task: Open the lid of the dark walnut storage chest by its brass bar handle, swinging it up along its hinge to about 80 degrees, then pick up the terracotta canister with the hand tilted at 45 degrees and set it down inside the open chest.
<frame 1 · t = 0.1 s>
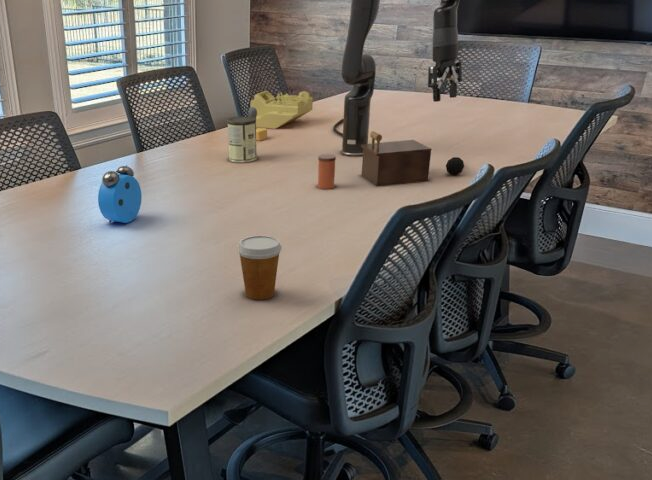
hand: (445, 99, 229), 22 cm above the table, tool pointing down, fingers open, 8 cm apart
lid: (396, 140, 228), point 12 cm above the table, hinge at 0.0°
canister: (325, 186, 229), on the table
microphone: (457, 169, 241), on the table
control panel: (278, 124, 314), on the table
coffee can: (242, 159, 263), on the table
alarm clock: (123, 221, 207), on the table
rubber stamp: (253, 138, 292), on the table
disposable coffee cup: (259, 294, 160), on the table
chest: (394, 178, 235), on the table
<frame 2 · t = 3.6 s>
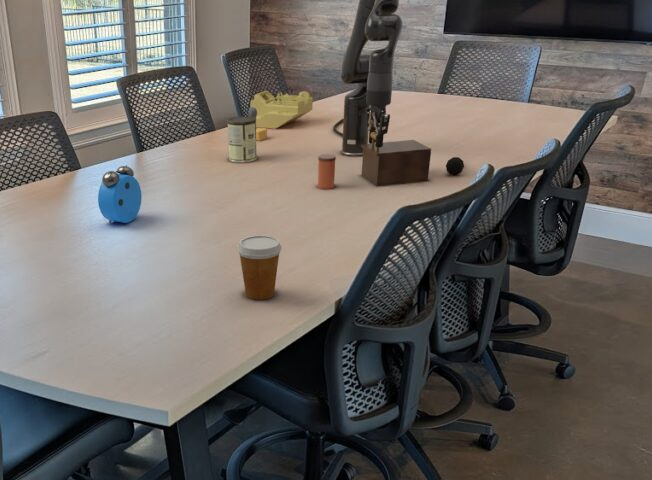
hand: (375, 144, 228), 11 cm above the table, tool pointing down, fingers closed on lid, 5 cm apart
lid: (396, 140, 228), point 12 cm above the table, hinge at -0.1°, touching gripper
everything else where it was.
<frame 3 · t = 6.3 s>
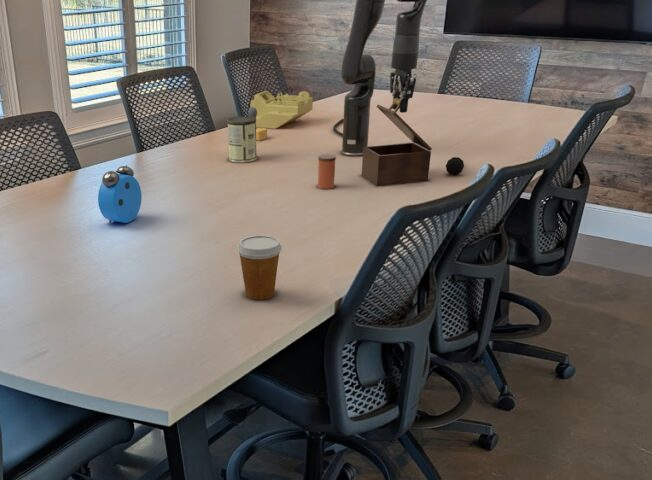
hand: (399, 110, 224), 21 cm above the table, tool pointing down, fingers closed on lid, 5 cm apart
lid: (409, 121, 226), point 18 cm above the table, hinge at 41.7°, touching gripper
everything else where it was.
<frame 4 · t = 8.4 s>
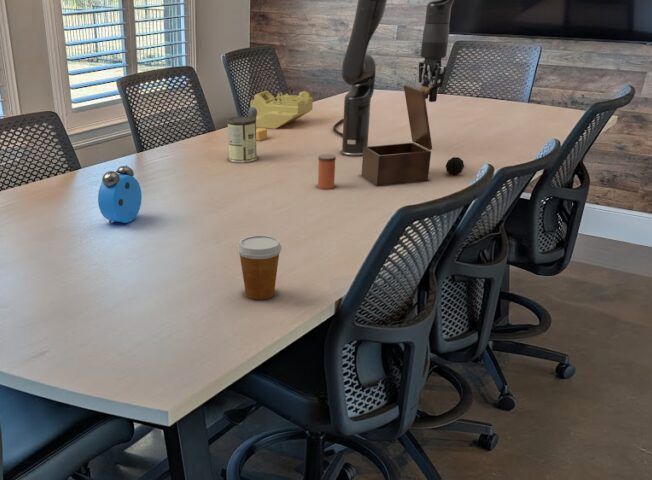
hand: (428, 99, 224), 23 cm above the table, tool pointing down, fingers closed on lid, 5 cm apart
lid: (424, 114, 226), point 19 cm above the table, hinge at 74.7°, touching gripper
everything else where it was.
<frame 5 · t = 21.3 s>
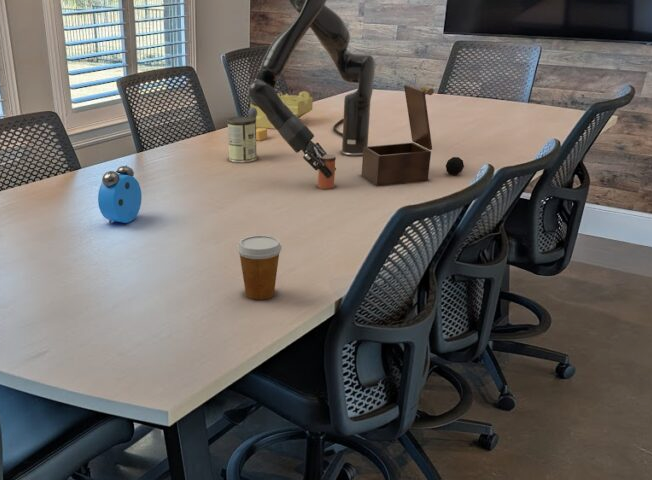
hand: (332, 173, 226), 4 cm above the table, tool tilted 45°, fingers closed on canister, 5 cm apart
lid: (425, 114, 226), point 19 cm above the table, hinge at 75.1°
canister: (325, 186, 229), on the table, touching gripper
everything else where it was.
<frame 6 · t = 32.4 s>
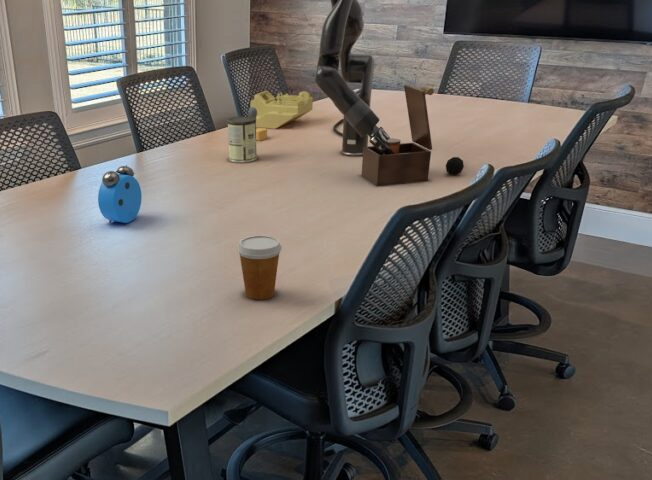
hand: (396, 157, 230), 7 cm above the table, tool tilted 45°, fingers closed on canister, 5 cm apart
canister: (389, 170, 232), point 3 cm above the table, touching gripper
everything else where it was.
when the fingers open (8 cm above the table, at t = 43.6 s): canister drops 3 cm, resting on chest.
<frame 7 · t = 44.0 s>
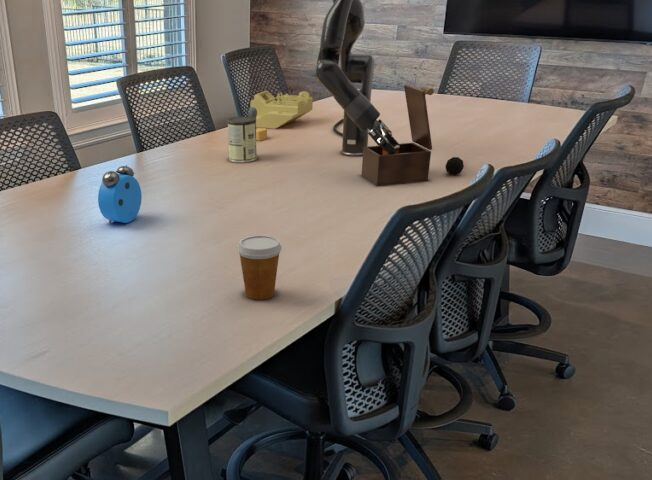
hand: (395, 150, 229), 9 cm above the table, tool tilted 45°, fingers open, 8 cm apart
canister: (388, 176, 234), point 1 cm above the table, touching chest
everything else where it was.
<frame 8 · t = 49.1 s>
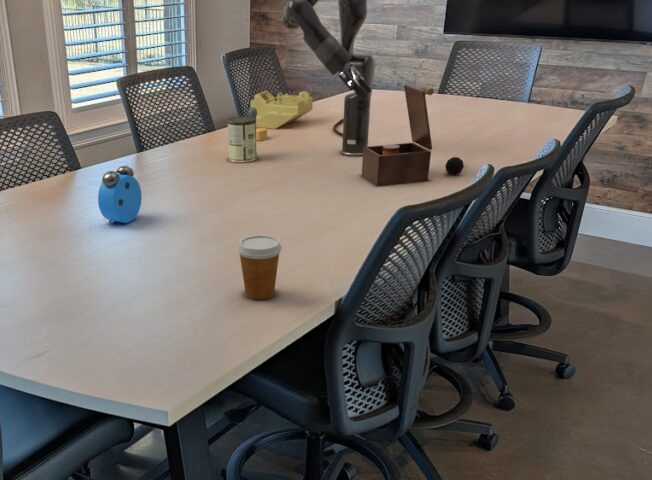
hand: (367, 95, 223), 26 cm above the table, tool tilted 45°, fingers open, 8 cm apart
nothing on the table moved.
at the end: lid at +75° (first picture: +0°); canister inside the target area in the chest (2.1 cm from its centre), point 0.9 cm above the chest's base; the gripper is holding nothing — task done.
